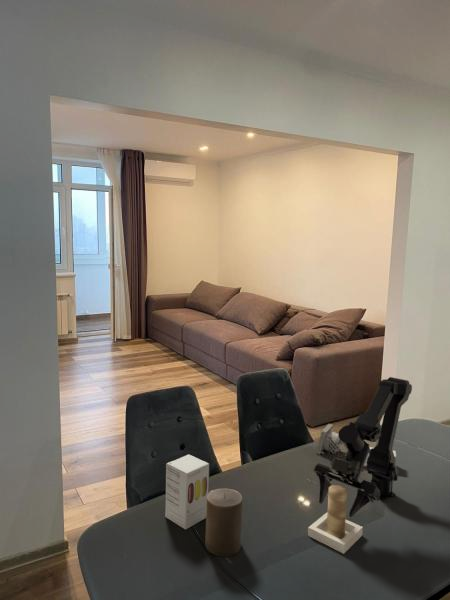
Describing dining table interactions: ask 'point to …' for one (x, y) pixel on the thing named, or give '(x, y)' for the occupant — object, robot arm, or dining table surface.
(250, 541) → the dining table surface
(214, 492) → the pillar candle
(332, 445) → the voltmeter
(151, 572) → the dining table surface
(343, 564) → the dining table surface
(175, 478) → the supplement box
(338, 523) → the wooden tool handle
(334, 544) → the tool holder
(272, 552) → the dining table surface
